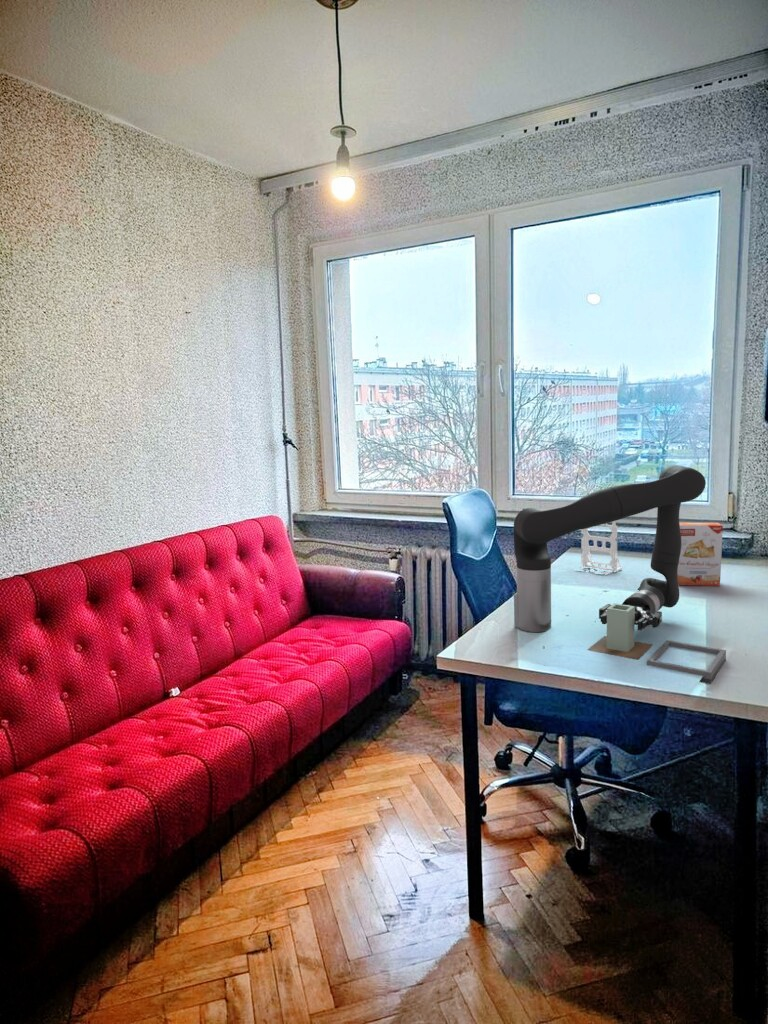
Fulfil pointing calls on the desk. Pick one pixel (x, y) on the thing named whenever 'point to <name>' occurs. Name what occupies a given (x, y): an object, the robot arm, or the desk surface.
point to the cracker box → (700, 554)
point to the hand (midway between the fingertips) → (620, 623)
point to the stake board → (634, 653)
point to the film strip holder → (600, 549)
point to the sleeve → (620, 627)
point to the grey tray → (707, 674)
